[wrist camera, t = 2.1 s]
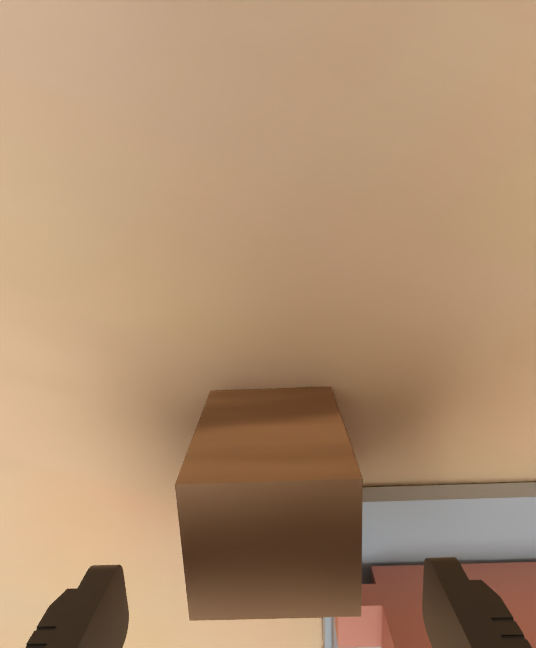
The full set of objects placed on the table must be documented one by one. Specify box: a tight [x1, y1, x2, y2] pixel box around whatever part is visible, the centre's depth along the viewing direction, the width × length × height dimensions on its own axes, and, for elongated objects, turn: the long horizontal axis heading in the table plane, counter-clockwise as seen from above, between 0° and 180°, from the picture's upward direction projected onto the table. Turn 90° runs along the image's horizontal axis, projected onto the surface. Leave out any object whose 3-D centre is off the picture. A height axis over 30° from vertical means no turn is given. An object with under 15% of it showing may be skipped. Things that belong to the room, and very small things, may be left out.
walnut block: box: [175, 387, 363, 620], centre depth 15 cm, size 4×5×6 cm
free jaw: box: [335, 562, 536, 648], centre depth 16 cm, size 2×13×4 cm, turn 92°
